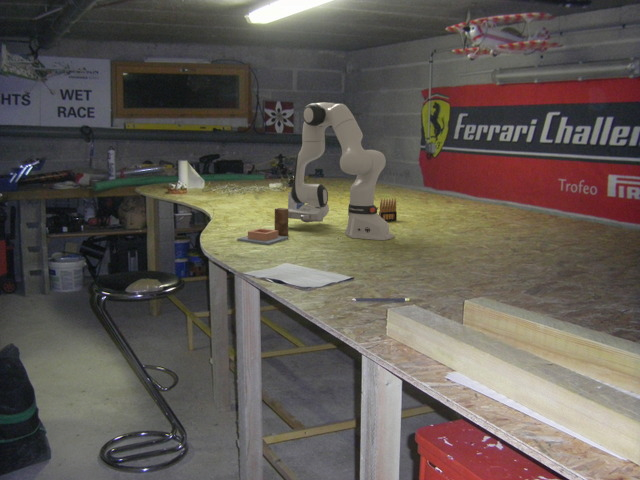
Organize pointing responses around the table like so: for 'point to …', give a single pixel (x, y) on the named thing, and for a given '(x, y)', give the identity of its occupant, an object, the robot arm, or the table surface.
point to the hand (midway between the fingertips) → (293, 216)
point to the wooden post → (281, 221)
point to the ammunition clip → (388, 210)
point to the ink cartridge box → (293, 203)
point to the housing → (263, 237)
